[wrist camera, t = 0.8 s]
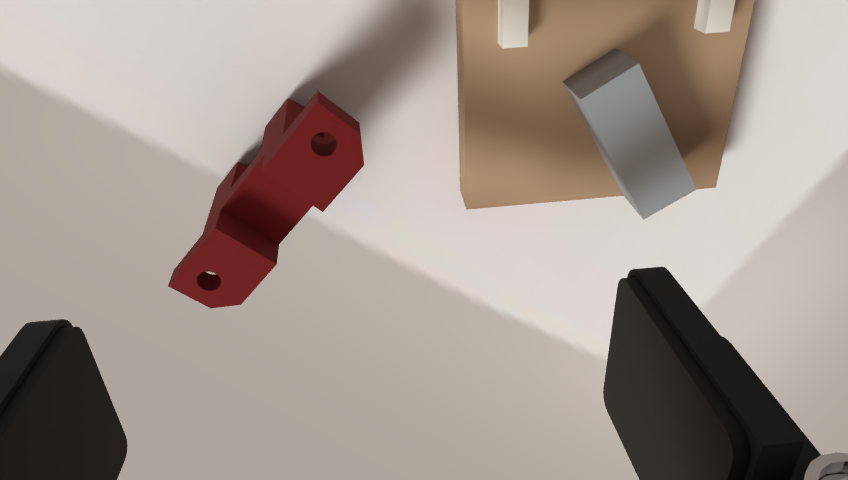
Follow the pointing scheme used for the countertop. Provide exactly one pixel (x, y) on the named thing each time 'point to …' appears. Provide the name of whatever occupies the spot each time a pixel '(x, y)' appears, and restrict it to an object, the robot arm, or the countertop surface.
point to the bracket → (270, 200)
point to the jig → (595, 98)
